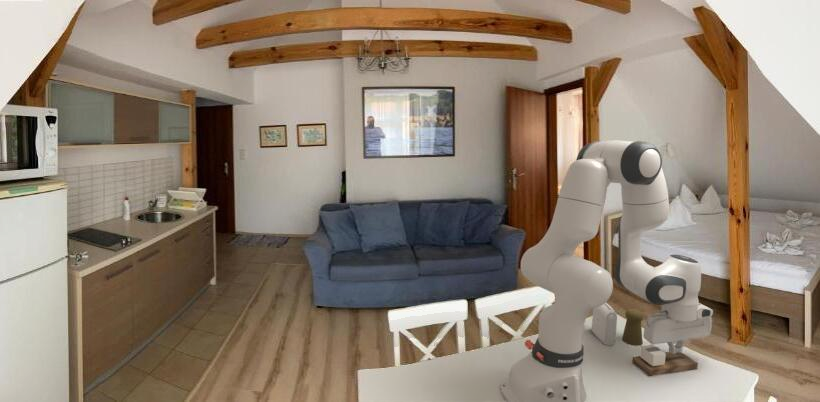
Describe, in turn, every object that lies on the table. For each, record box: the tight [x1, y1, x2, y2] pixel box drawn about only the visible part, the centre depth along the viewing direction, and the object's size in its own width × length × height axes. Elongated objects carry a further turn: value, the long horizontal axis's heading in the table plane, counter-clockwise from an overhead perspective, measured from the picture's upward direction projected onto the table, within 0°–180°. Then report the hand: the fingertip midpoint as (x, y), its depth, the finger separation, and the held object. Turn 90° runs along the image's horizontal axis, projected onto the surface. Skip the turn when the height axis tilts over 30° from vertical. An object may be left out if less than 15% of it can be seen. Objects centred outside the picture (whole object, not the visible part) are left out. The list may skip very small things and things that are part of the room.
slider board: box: [632, 351, 699, 377], centre depth 121 cm, size 16×7×2 cm, turn 101°
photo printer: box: [591, 302, 618, 346], centre depth 136 cm, size 10×4×12 cm, turn 1°
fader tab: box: [639, 344, 666, 366], centre depth 119 cm, size 4×5×4 cm
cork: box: [621, 308, 644, 347], centre depth 134 cm, size 6×6×11 cm
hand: (675, 352), depth 121 cm, fingers closed
